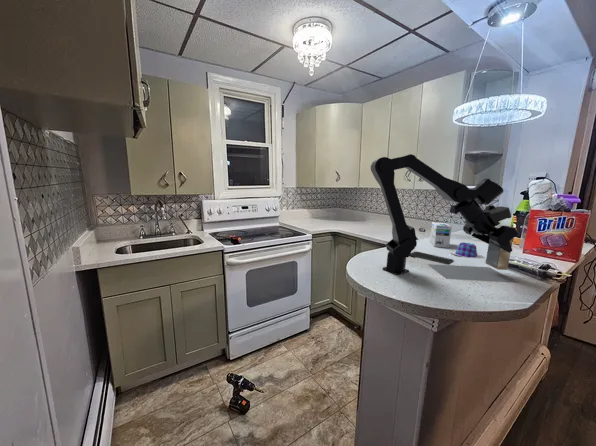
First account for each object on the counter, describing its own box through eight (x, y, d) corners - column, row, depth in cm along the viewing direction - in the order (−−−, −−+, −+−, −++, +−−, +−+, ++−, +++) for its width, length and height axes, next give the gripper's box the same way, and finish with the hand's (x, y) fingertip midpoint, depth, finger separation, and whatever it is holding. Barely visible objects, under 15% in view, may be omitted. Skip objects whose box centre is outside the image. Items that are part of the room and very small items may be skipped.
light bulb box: (449, 248, 119) (452, 226, 117) (433, 247, 121) (436, 225, 119) (443, 243, 129) (445, 222, 127) (428, 242, 131) (431, 221, 129)
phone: (415, 251, 109) (454, 259, 99) (415, 253, 110) (453, 262, 99) (407, 254, 104) (447, 263, 93) (407, 257, 104) (447, 266, 93)
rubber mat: (446, 279, 80) (446, 278, 80) (427, 265, 93) (427, 264, 93) (519, 283, 78) (519, 282, 78) (488, 268, 92) (489, 267, 92)
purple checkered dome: (486, 256, 108) (488, 244, 107) (478, 261, 100) (480, 249, 99) (455, 250, 117) (456, 239, 116) (445, 254, 109) (447, 243, 108)
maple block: (496, 269, 81) (503, 233, 79) (484, 263, 87) (490, 229, 85) (507, 270, 81) (514, 233, 79) (494, 263, 87) (500, 230, 85)
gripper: (517, 200, 71) (551, 239, 72) (476, 196, 89) (504, 227, 90) (484, 226, 73) (517, 264, 74) (450, 216, 91) (477, 247, 92)
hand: (503, 249), depth 83 cm, fingers closed on maple block, 6 cm apart
